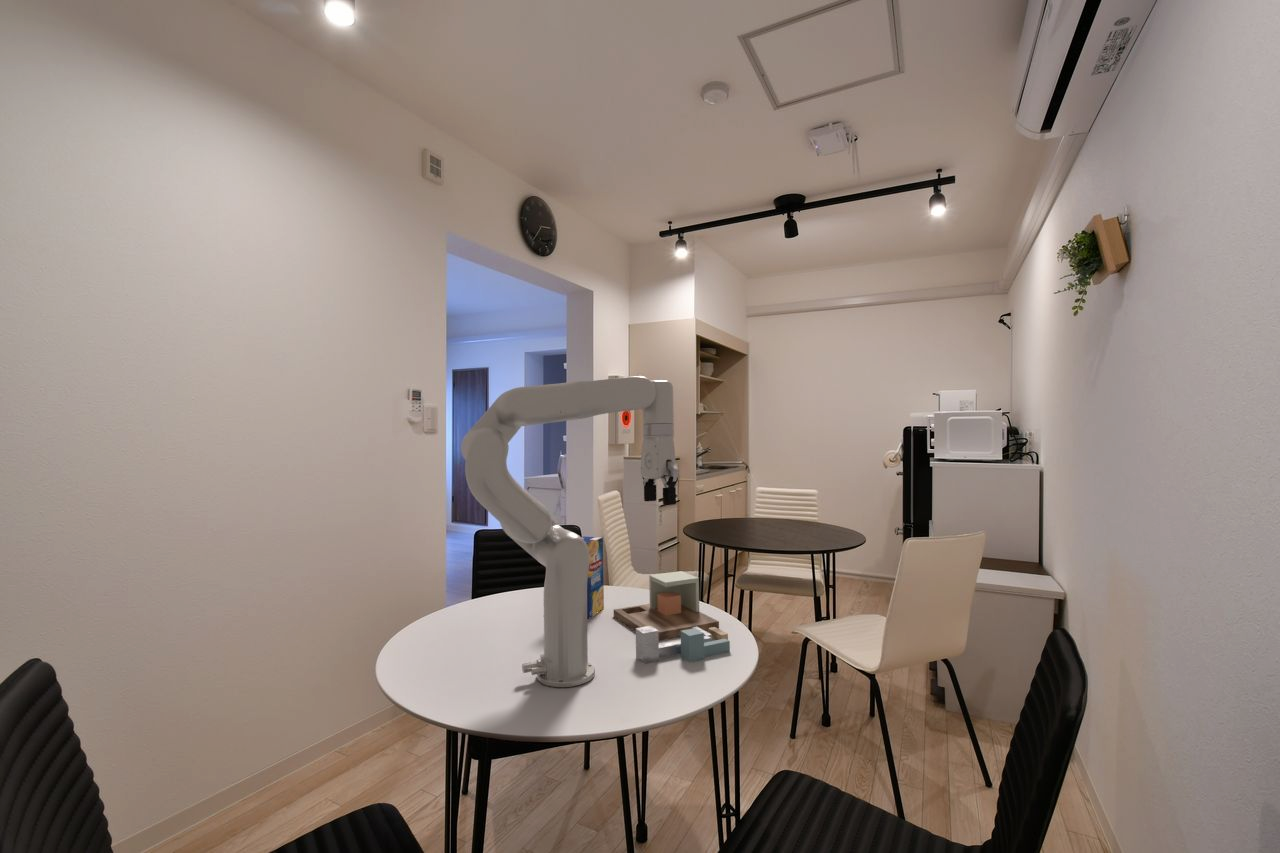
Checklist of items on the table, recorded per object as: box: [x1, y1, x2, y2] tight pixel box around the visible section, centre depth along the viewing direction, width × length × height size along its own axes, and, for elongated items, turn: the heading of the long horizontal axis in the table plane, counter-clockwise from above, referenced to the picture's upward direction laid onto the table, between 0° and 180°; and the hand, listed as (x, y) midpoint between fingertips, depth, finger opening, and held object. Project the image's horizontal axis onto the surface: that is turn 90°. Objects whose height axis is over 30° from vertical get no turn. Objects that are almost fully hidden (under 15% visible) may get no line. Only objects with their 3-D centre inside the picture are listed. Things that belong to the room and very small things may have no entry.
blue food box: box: [580, 536, 605, 620], centre depth 169 cm, size 7×11×22 cm, turn 159°
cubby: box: [648, 570, 700, 612], centre depth 164 cm, size 11×10×10 cm
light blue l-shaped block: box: [680, 628, 731, 663], centre depth 134 cm, size 12×4×6 cm, turn 116°
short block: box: [707, 627, 729, 641], centre depth 144 cm, size 6×2×2 cm, turn 26°
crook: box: [635, 626, 713, 665], centre depth 138 cm, size 21×10×7 cm, turn 116°
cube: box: [657, 592, 681, 615], centre depth 162 cm, size 5×5×5 cm
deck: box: [613, 603, 720, 641], centre depth 158 cm, size 21×24×2 cm
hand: (659, 502), depth 134 cm, fingers open, 9 cm apart
